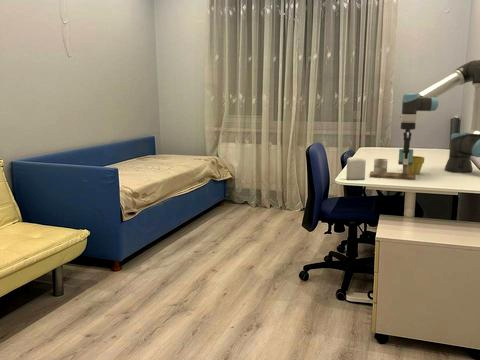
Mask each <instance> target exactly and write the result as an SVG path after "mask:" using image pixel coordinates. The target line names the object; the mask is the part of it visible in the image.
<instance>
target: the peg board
mask: <svg viewBox="0 0 480 360" xmlns="http://www.w3.org/2000/svg"><path fill="white" fill-rule="evenodd" d="M373 161H374V162H373V171H372V170H370V172H369V178H375V179H376V178H378V179H393V180H394V179H396V180H410V181H411V180H412V181H415V180H416V178H417V177H416V174H413V173H407V166H408V165H402V172H388V158H378V157H377V158H374V160H373Z"/></svg>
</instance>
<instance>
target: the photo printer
mask: <svg viewBox="0 0 480 360" xmlns="http://www.w3.org/2000/svg"><path fill="white" fill-rule="evenodd" d="M366 166H367V164H366V158H365V157H362V156H351V157H348V158H347V160H346V175H345V176H346V178H345V179H346V180H348V179H352V180H366Z"/></svg>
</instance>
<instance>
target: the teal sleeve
mask: <svg viewBox="0 0 480 360" xmlns="http://www.w3.org/2000/svg"><path fill="white" fill-rule="evenodd" d="M403 151H404V149H403V148H399V149H398V161H397V164H398V165H401V166H403V155H404V153H403ZM413 156H414V149H412V148H409V160H408V165H412V164H413V162H412V161H413Z"/></svg>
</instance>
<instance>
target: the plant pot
mask: <svg viewBox="0 0 480 360" xmlns="http://www.w3.org/2000/svg"><path fill="white" fill-rule="evenodd" d="M412 162H413V164H412V165H408V166H407V173H413V174H415V175H419V174H420V173H421V169H422V167H423V164H424V163H425V157H423V156H419V155H413V161H412Z"/></svg>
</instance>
